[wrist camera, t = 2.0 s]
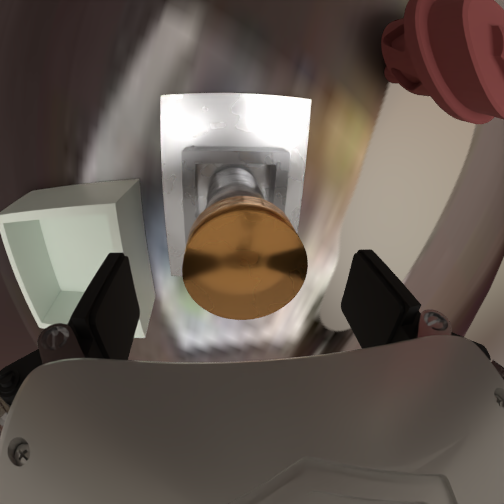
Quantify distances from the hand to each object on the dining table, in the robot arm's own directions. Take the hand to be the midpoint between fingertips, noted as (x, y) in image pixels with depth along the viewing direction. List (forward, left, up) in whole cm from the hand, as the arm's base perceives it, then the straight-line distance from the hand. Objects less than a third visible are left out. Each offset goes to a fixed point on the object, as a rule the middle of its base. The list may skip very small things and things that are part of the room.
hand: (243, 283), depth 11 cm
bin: (+4, -13, -12) cm, 18 cm away
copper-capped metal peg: (-1, 0, -10) cm, 10 cm away
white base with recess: (-1, 0, -12) cm, 12 cm away
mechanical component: (-14, +14, -12) cm, 23 cm away
